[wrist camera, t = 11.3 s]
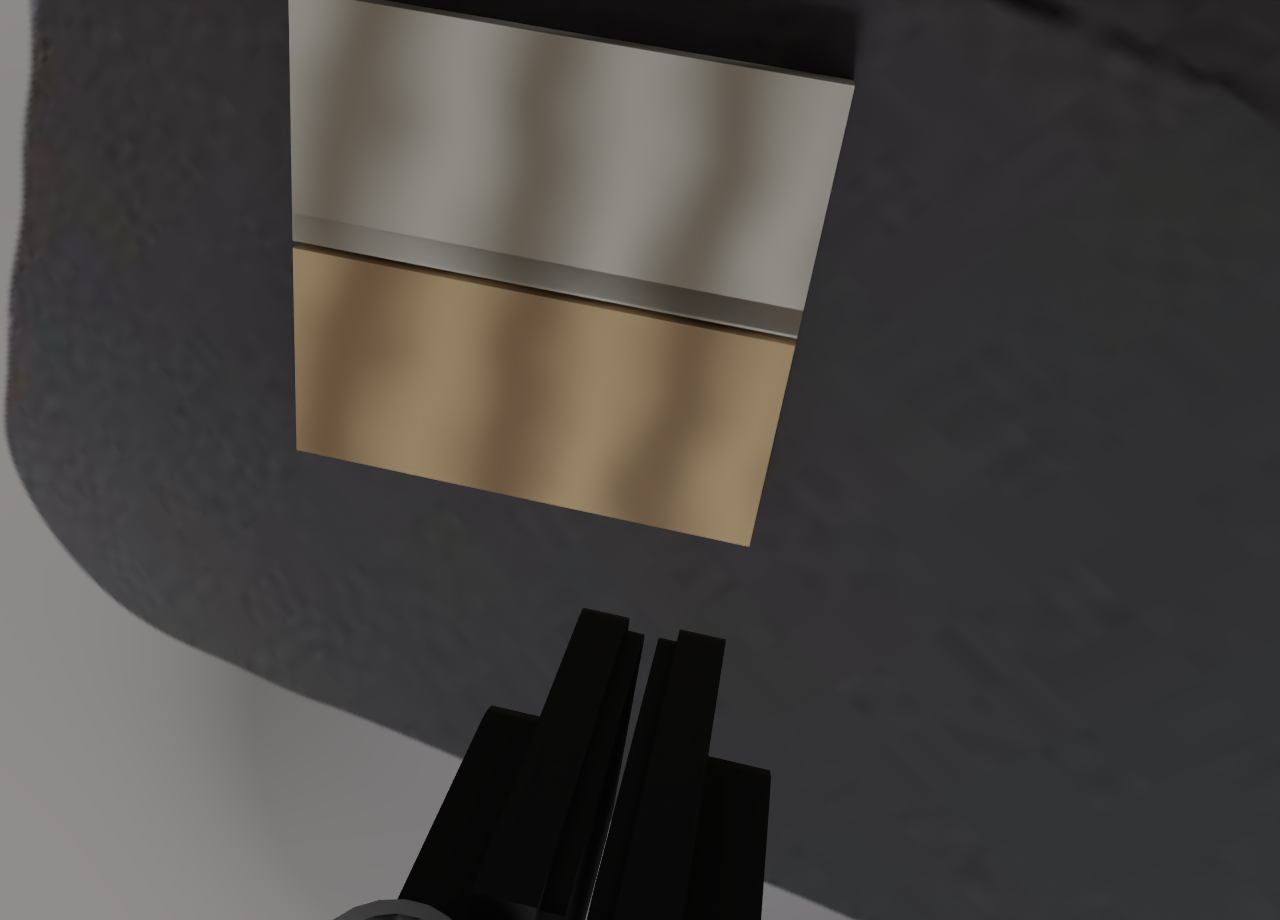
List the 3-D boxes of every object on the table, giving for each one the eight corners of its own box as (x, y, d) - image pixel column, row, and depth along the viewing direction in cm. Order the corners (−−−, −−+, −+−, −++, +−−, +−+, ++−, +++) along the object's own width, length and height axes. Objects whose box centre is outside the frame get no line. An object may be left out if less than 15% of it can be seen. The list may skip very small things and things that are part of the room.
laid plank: (853, 80, 35) (855, 85, 33) (798, 320, 39) (796, 338, 37) (317, -12, 37) (288, -12, 35) (318, 228, 41) (292, 240, 39)
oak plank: (796, 329, 39) (795, 346, 37) (752, 523, 43) (749, 546, 41) (316, 236, 41) (292, 247, 39) (317, 431, 45) (296, 449, 43)
